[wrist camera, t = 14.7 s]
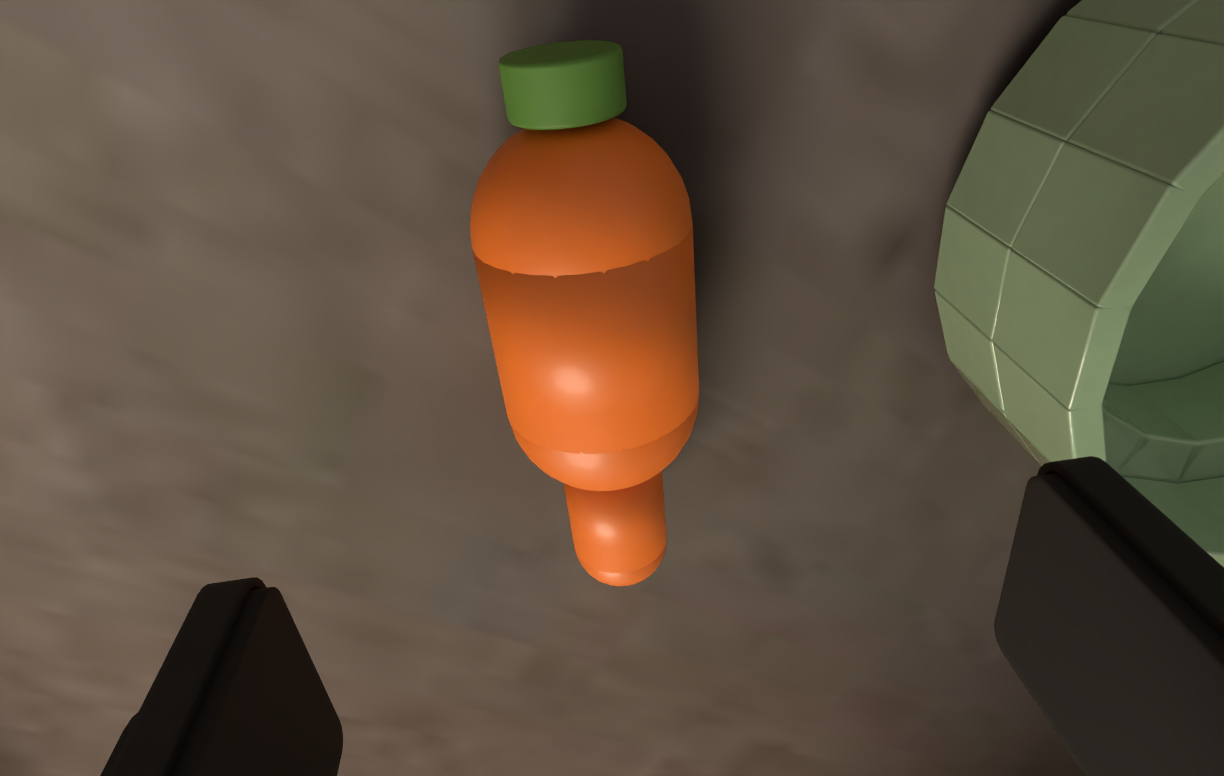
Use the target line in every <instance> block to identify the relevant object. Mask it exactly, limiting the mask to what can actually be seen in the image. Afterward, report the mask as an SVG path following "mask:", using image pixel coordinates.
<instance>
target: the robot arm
mask: <svg viewBox="0 0 1224 776" xmlns="http://www.w3.org/2000/svg"><path fill="white" fill-rule="evenodd" d="M994 629H995V636H996V640H997V642H998V645H999V647H1000V649H1001V651H1002V653H1003V654H1004V656H1005V657H1006V659H1007V660H1008V662H1009V663H1010V665H1011V666H1012V668H1013V669H1014V671H1015V672H1016V674H1017V675H1018V677H1019V678H1020V680H1021V681H1022V683H1023V684H1024V686H1025V687H1026V689H1027V690H1028V692H1029V693H1030V695H1031V696H1032V697H1033V699H1034V700H1035V702H1036V703H1037V705H1038V706H1039V708H1040V709H1041V711H1042V712H1043V714H1044V715H1045V717H1046V718H1047V720H1048V721H1049V723H1050V724H1051V726H1052V727H1053V729H1054V730H1055V732H1056V733H1057V735H1058V736H1059V738H1060V739H1061V741H1062V742H1063V744H1064V745H1065V747H1066V748H1067V750H1068V751H1069V753H1070V754H1071V756H1072V757H1073V758H1074V760H1075V761H1076V763H1077V764H1078V766H1079V767H1080V769H1081V770H1082V772H1083V773H1084V775H1085V776H1224V567H1223V566H1222V565H1220V564H1219V563H1218V562H1217V561H1216V560H1215V559H1214V558H1213V557H1212V556H1210V555H1209V554H1208V553H1207V552H1206V551H1205V550H1204V549H1203V548H1201V547H1200V546H1199V545H1198V544H1197V543H1196V542H1195V541H1194V540H1193V539H1191V538H1190V537H1189V536H1188V535H1187V534H1186V533H1185V532H1184V531H1182V530H1181V529H1180V528H1179V527H1178V526H1177V525H1176V524H1175V523H1174V522H1172V521H1171V520H1170V519H1169V518H1168V517H1167V516H1166V515H1165V514H1163V513H1162V512H1161V511H1160V510H1159V509H1158V508H1157V507H1156V506H1155V505H1153V504H1152V503H1151V502H1150V501H1149V500H1148V499H1147V498H1146V497H1144V496H1143V495H1142V494H1141V493H1140V492H1139V491H1138V490H1137V489H1136V488H1134V487H1133V486H1132V485H1131V484H1130V483H1129V482H1128V481H1127V480H1125V479H1124V478H1123V477H1122V476H1121V475H1120V474H1119V473H1118V472H1116V471H1115V470H1114V469H1113V468H1112V467H1111V466H1110V465H1109V464H1108V463H1106V462H1105V461H1103V460H1102V459H1100V458H1098V457H1094V456H1088V457H1082V458H1075V459H1068V460H1061V461H1054V462H1049V463H1045V464H1044V465H1043V466H1042V467H1041V468H1040V469H1039V472H1038V474H1037V476H1034V477H1031V478H1030V479H1029V481H1028V483H1027V486H1026V490H1025V494H1024V498H1023V502H1022V507H1021V511H1020V515H1019V520H1018V524H1017V528H1016V532H1015V537H1014V541H1013V545H1012V549H1011V554H1010V558H1009V562H1008V567H1007V571H1006V575H1005V579H1004V584H1003V588H1002V592H1001V596H1000V601H999V605H998V609H997V614H996V618H995V624H994ZM342 748H343V732H342V726H341V723H340V720H339V718H338V716H337V714H336V712H335V709H334V707H333V705H332V703H331V701H330V699H329V696H328V694H327V692H326V690H325V688H324V686H323V683H322V681H321V679H320V677H319V675H318V673H317V670H316V668H315V666H314V664H313V662H312V660H311V657H310V655H309V653H308V651H307V649H306V647H305V644H304V642H303V640H302V638H301V636H300V634H299V631H298V629H297V627H296V625H295V623H294V621H293V618H292V616H291V614H290V612H289V610H288V608H287V605H286V603H285V601H284V599H283V597H282V595H281V593H280V591H279V590H278V589H277V588H275V587H269V588H266V586H265V584H264V583H263V581H262V580H260V579H259V578H247V579H240V580H233V581H226V582H219V583H212V584H207V585H206V586H204V587H203V588H202V589H201V590H200V592H199V593H198V595H197V597H196V599H195V601H194V603H193V605H192V607H191V609H190V611H189V613H188V615H187V617H186V619H185V621H184V623H183V625H182V627H181V629H180V631H179V633H178V635H177V637H176V639H175V641H174V643H173V645H172V647H171V649H170V651H169V653H168V655H167V657H166V659H165V661H164V663H163V665H162V667H161V669H160V670H159V672H158V674H157V676H156V678H155V680H154V682H153V684H152V686H151V688H150V690H149V692H148V694H147V696H146V698H145V700H144V702H143V704H142V706H141V708H140V710H139V712H138V713H137V714H136V715H134V716H133V717H132V718H131V720H130V722H129V723H128V725H127V726H126V728H125V729H124V731H123V732H122V734H121V736H120V738H119V740H118V742H117V744H116V746H115V748H114V750H113V752H112V754H111V756H110V758H109V760H108V762H107V764H106V766H105V768H104V770H103V772H102V774H101V776H337V772H338V768H339V764H340V759H341V754H342Z"/></svg>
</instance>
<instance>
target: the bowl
mask: <svg viewBox="0 0 1224 776" xmlns="http://www.w3.org/2000/svg"><path fill="white" fill-rule="evenodd" d="M934 288H935V296H936V301H937V305H938V310H939V315H940V319H941V324H942V329H943V334H944V338H945V343H946V348H947V352H948V355H949V359H950V361H951V362H952V363H953V365H954V366H955V367H956V369H957V370H958V371H959V373H960V374H961V375H962V377H963V378H964V379H965V381H966V382H967V383H968V385H969V386H970V387H971V389H972V390H973V391H974V393H975V394H976V395H977V397H978V398H979V400H980V401H981V402H982V404H983V405H984V406H985V407H986V408H987V409H988V410H989V411H990V412H991V413H992V414H993V415H994V416H995V417H996V418H997V419H998V420H999V422H1000V423H1001V424H1002V425H1003V426H1004V427H1005V428H1006V429H1007V430H1008V431H1009V432H1010V433H1011V434H1012V435H1013V436H1014V437H1015V438H1016V439H1017V440H1018V442H1019V443H1020V444H1021V445H1022V446H1023V447H1024V448H1025V449H1026V450H1027V451H1028V452H1029V453H1030V454H1031V455H1032V456H1033V457H1034V458H1035V459H1036V460H1037V461H1038V462H1039V463H1040V464H1041V466H1043V465H1044V464H1045V463H1049V462H1054V461H1061V460H1068V459H1075V458H1082V457H1088V456H1094V457H1098V458H1100V459H1102V460H1103V461H1105V462H1106V463H1108V464H1109V465H1110V466H1111V467H1112V468H1113V469H1114V470H1115V471H1116V472H1118V473H1119V474H1120V475H1121V476H1122V477H1123V478H1124V479H1125V480H1127V481H1128V482H1129V483H1130V484H1131V485H1132V486H1133V487H1134V488H1136V489H1137V490H1138V491H1139V492H1140V493H1141V494H1142V495H1143V496H1144V497H1146V498H1147V499H1148V500H1149V501H1150V502H1151V503H1152V504H1153V505H1155V506H1156V507H1157V508H1158V509H1159V510H1160V511H1161V512H1162V513H1163V514H1165V515H1166V516H1167V517H1168V518H1169V519H1170V520H1171V521H1172V522H1174V523H1175V524H1176V525H1177V526H1178V527H1179V528H1180V529H1181V530H1182V531H1184V532H1185V533H1186V534H1187V535H1188V536H1189V537H1190V538H1191V539H1193V540H1194V541H1195V542H1196V543H1197V544H1198V545H1199V546H1200V547H1201V548H1203V549H1204V550H1205V551H1206V552H1207V553H1208V554H1209V555H1210V556H1212V557H1213V558H1214V559H1215V560H1216V561H1217V562H1218V563H1219V564H1220V565H1222V566H1223V567H1224V0H1081V1H1080V2H1079V3H1078V4H1076V5H1075V6H1074V7H1073V8H1071V9H1070V10H1069V11H1068V12H1067V14H1066V16H1062V17H1061V18H1060V19H1059V20H1058V22H1057V23H1056V24H1055V26H1054V27H1053V28H1052V29H1051V31H1050V32H1049V33H1048V35H1047V36H1046V37H1045V38H1044V40H1043V41H1042V42H1041V44H1040V45H1039V46H1038V47H1037V49H1036V50H1035V51H1034V53H1033V54H1032V55H1031V56H1030V58H1029V59H1028V60H1027V62H1026V63H1025V64H1024V65H1023V67H1022V68H1021V69H1020V70H1019V72H1018V73H1017V74H1016V76H1015V77H1014V78H1013V79H1012V81H1011V82H1010V83H1009V85H1008V86H1007V87H1006V88H1005V90H1004V91H1003V92H1002V94H1001V95H1000V96H999V97H998V99H997V100H996V101H995V103H994V104H993V105H992V106H991V111H988V113H987V115H986V117H985V119H984V121H983V124H982V126H981V128H980V130H979V132H978V135H977V137H976V139H975V141H974V143H973V146H972V148H971V150H970V152H969V154H968V157H967V159H966V161H965V163H964V165H963V168H962V170H961V172H960V174H959V177H958V179H957V181H956V183H955V185H954V188H953V190H952V192H951V194H950V196H949V199H948V201H947V206H946V207H945V214H944V221H943V228H942V234H941V241H940V248H939V255H938V262H937V269H936V275H935V282H934Z"/></svg>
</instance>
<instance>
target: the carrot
mask: <svg viewBox="0 0 1224 776" xmlns="http://www.w3.org/2000/svg"><path fill="white" fill-rule="evenodd" d="M499 71H500V77H501V83H502V89H503V95H504V101H505V107H506V113H507V118H508V120H509V122H510V123H511V124H512V125H514V126H517V127H521V128H523V129H521V130H520V131H519V132H517V133H516V134H514V135H513V136H511V137H510V138H509V139H507V141H506V142H505V143H504V144H503V145H502V146H501V147H500V148H499V149H498V150H497V151H496V152H495V154H494V155H493V156H492V157H491V159H490V161H489V162H488V164H487V166H486V167H485V169H484V171H483V173H482V174H481V176H480V178H479V181H478V184H477V187H476V190H475V193H474V196H473V202H472V210H471V220H470V233H471V243H472V249H473V254H474V259H475V264H476V269H477V273H478V278H479V283H480V288H481V292H482V297H483V302H484V307H485V311H486V316H487V321H488V326H489V330H490V335H491V340H492V345H493V350H494V354H495V359H496V364H497V369H498V373H499V378H500V383H501V388H502V392H503V397H504V402H505V407H506V411H507V416H508V419H509V421H510V424H511V427H512V430H513V433H514V435H515V438H516V440H517V441H518V443H519V444H520V446H521V448H522V449H523V451H524V452H525V453H526V455H527V456H528V457H529V458H530V460H531V461H532V462H533V463H535V464H536V465H537V466H538V467H539V468H540V469H541V470H542V471H544V472H545V473H546V474H548V475H549V476H550V477H552V478H555V479H557V480H559V481H561V482H563V483H564V489H565V495H566V500H567V506H568V512H569V518H570V524H571V530H572V536H573V541H574V547H575V551H576V554H577V557H578V559H579V561H580V563H581V564H582V566H583V567H584V569H585V570H586V571H587V572H588V573H589V574H590V575H591V576H593V577H594V578H595V579H597V580H598V581H600V582H602V583H605V584H608V585H613V586H628V585H633V584H636V583H638V582H640V581H642V580H644V579H646V578H647V577H648V576H650V575H651V574H652V573H653V572H654V571H655V570H656V568H657V567H658V566H659V564H660V563H661V561H662V559H663V556H664V553H665V550H666V540H667V532H666V520H665V507H664V494H663V481H662V470H663V469H664V468H665V467H667V466H668V465H669V464H670V463H671V462H672V461H673V460H674V459H675V458H676V457H677V455H678V454H679V452H680V451H681V449H682V448H683V446H684V445H685V443H686V442H687V440H688V439H689V437H690V434H691V431H692V428H693V425H694V422H695V419H696V416H697V413H698V404H699V369H698V345H697V320H696V295H695V271H694V246H693V223H692V215H691V208H690V201H689V196H688V193H687V190H686V188H685V185H684V182H683V180H682V177H681V175H680V174H679V172H678V170H677V169H676V167H675V166H674V164H673V162H672V161H671V159H670V158H669V156H668V155H667V153H666V152H665V151H664V150H663V149H662V148H661V147H660V146H659V145H658V144H657V143H656V142H655V141H654V140H653V139H652V138H651V137H650V136H648V135H647V134H645V133H644V132H642V131H641V130H639V129H638V128H636V127H635V126H633V125H632V124H630V123H627V122H625V121H622V120H620V119H617V118H614V117H616V116H618V115H619V114H621V113H622V112H624V110H625V108H626V105H627V99H626V87H625V75H624V63H623V51H622V48H621V46H620V45H619V44H617V43H614V42H611V41H603V40H580V41H567V42H557V43H550V44H543V45H538V46H532V47H528V48H523V49H520V50H516V51H513V52H510V53H508V54H506V55H505V56H503V57H501V58H500V60H499Z"/></svg>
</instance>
